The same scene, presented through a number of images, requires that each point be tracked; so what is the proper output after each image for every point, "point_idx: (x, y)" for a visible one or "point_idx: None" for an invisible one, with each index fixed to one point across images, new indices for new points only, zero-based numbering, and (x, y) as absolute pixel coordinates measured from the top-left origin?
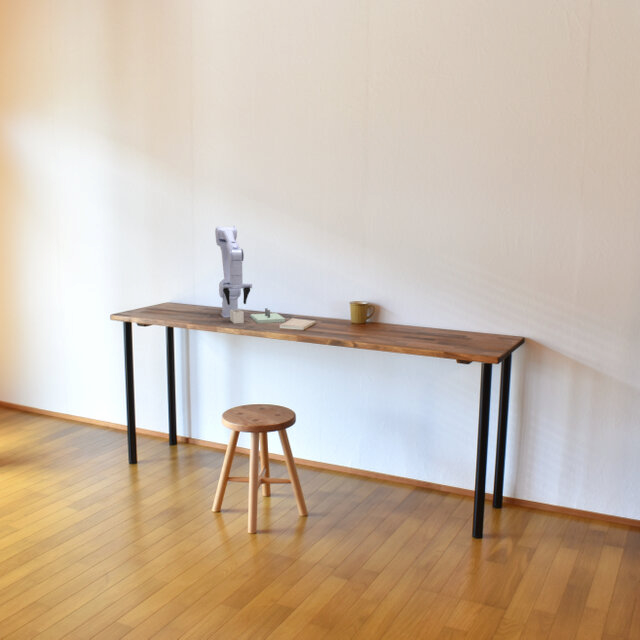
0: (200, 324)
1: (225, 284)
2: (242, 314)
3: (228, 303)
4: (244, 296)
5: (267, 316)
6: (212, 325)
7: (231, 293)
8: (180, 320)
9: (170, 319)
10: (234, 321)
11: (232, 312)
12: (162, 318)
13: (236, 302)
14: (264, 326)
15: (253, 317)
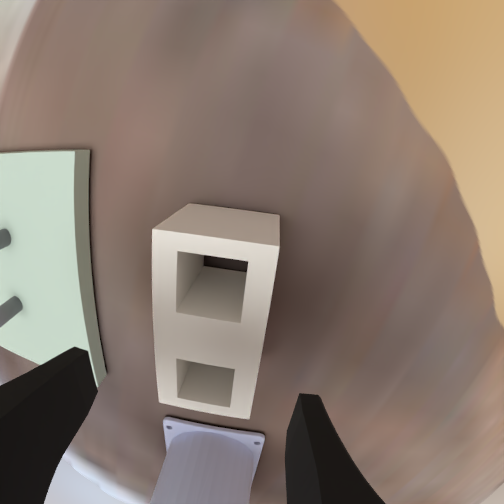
0: (489, 297)
1: None
2: (174, 224)
3: (321, 404)
4: (37, 432)
5: (11, 273)
6: (455, 227)
7: None
8: (479, 420)
9: (486, 440)
10: (274, 218)
11: (267, 318)
12: (487, 455)
13: (159, 498)
14: (90, 31)
15: (86, 308)
